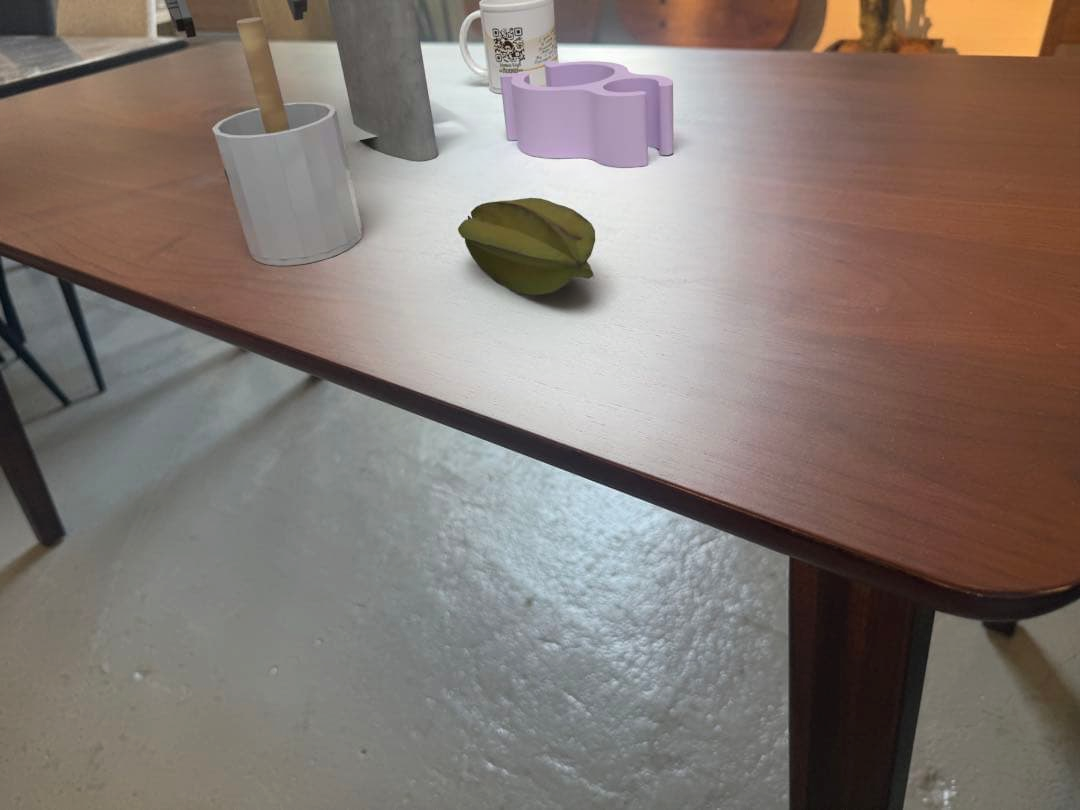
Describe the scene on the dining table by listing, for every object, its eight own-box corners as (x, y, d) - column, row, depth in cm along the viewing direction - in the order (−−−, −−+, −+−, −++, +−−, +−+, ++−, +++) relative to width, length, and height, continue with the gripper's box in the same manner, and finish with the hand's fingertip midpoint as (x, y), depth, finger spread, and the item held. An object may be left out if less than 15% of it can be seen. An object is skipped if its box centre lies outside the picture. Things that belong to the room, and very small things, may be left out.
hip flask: (443, 155, 95) (411, -47, 84) (412, 165, 93) (375, -41, 82) (375, 131, 106) (339, -51, 95) (345, 139, 104) (305, -45, 93)
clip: (699, 143, 90) (699, 74, 86) (616, 177, 84) (612, 105, 80) (569, 116, 103) (565, 56, 100) (489, 144, 97) (481, 80, 93)
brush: (287, 248, 75) (226, 27, 65) (278, 234, 78) (219, 20, 68) (332, 237, 76) (279, 18, 66) (322, 223, 79) (270, 12, 69)
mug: (513, 99, 113) (504, 8, 107) (462, 87, 121) (450, 2, 115) (574, 81, 118) (568, -7, 112) (521, 71, 126) (512, -12, 120)
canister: (260, 276, 72) (221, 145, 66) (242, 238, 80) (205, 118, 74) (375, 246, 75) (348, 118, 69) (347, 212, 83) (320, 95, 77)
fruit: (610, 250, 70) (606, 170, 66) (594, 321, 60) (588, 232, 56) (474, 253, 72) (463, 176, 68) (436, 322, 62) (421, 236, 58)
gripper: (82, -178, 65) (142, 3, 63) (269, -194, 70) (334, -26, 67) (106, -98, 72) (161, 67, 70) (275, -117, 77) (333, 37, 74)
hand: (246, 21), depth 68 cm, fingers open, 8 cm apart
